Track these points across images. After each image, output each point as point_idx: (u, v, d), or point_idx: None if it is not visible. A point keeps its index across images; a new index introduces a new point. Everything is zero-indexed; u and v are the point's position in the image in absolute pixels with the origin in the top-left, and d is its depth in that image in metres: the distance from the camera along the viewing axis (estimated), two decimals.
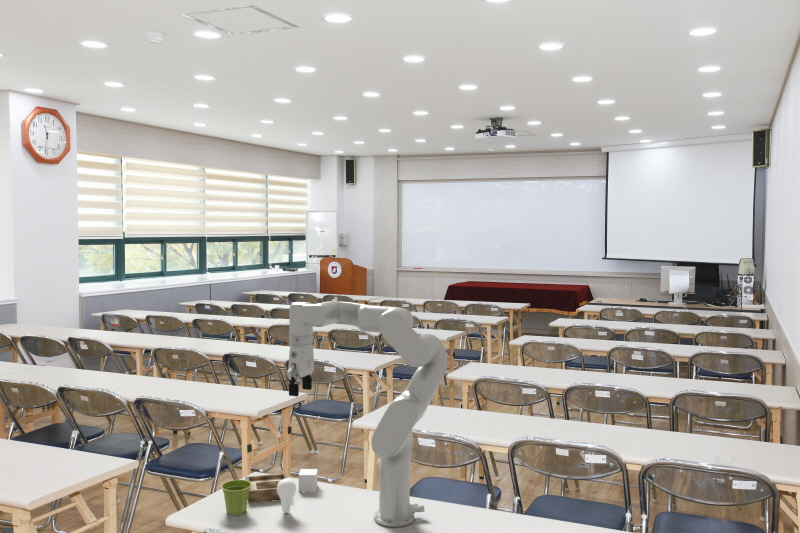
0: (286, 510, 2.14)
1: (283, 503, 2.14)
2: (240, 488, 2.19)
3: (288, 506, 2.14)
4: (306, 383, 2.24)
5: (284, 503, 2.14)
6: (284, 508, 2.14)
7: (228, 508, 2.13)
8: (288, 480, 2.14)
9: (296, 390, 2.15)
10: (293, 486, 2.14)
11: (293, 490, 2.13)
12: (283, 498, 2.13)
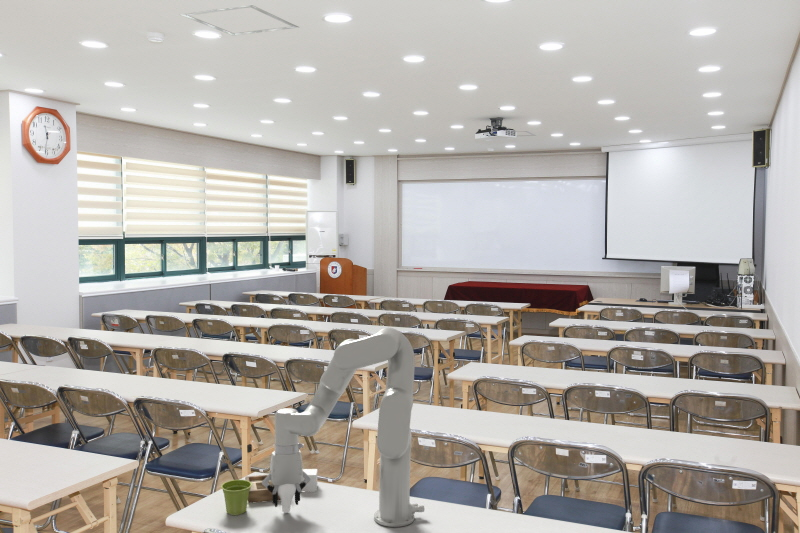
0: (286, 510, 2.14)
1: (283, 503, 2.14)
2: (240, 488, 2.19)
3: (288, 506, 2.14)
4: None
5: (284, 503, 2.14)
6: (284, 508, 2.14)
7: (228, 508, 2.13)
8: None
9: None
10: (293, 486, 2.14)
11: (293, 490, 2.13)
12: (283, 498, 2.13)
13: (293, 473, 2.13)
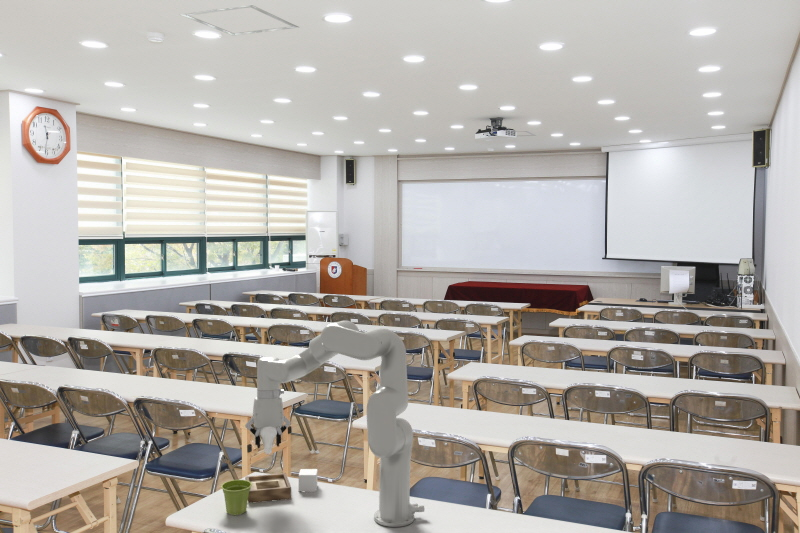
0: (268, 451, 2.29)
1: (265, 445, 2.29)
2: (240, 488, 2.19)
3: (270, 448, 2.29)
4: None
5: (266, 445, 2.29)
6: (265, 449, 2.29)
7: (228, 508, 2.13)
8: None
9: None
10: (274, 429, 2.29)
11: (274, 432, 2.29)
12: (265, 439, 2.28)
13: (274, 417, 2.28)
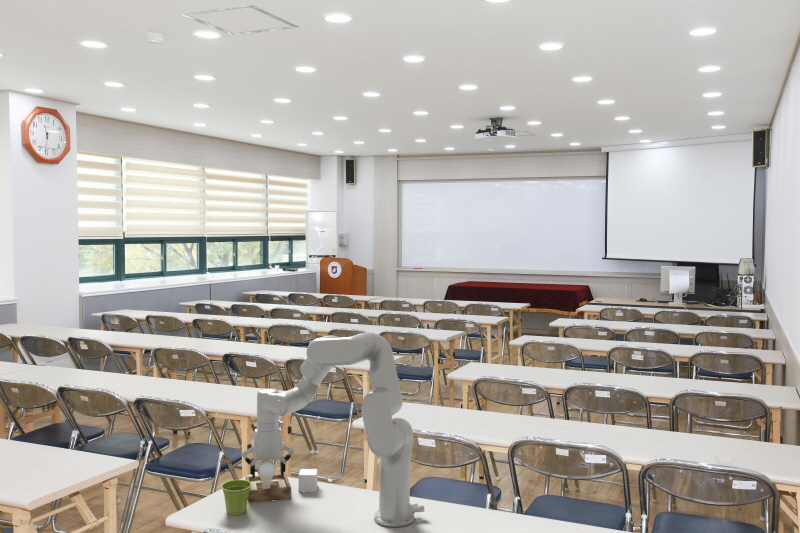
0: None
1: (263, 483, 2.29)
2: (240, 488, 2.19)
3: (268, 485, 2.30)
4: None
5: (264, 483, 2.29)
6: (264, 487, 2.30)
7: (228, 508, 2.13)
8: (268, 461, 2.30)
9: None
10: (272, 467, 2.29)
11: (272, 470, 2.29)
12: (263, 477, 2.29)
13: (274, 449, 2.29)
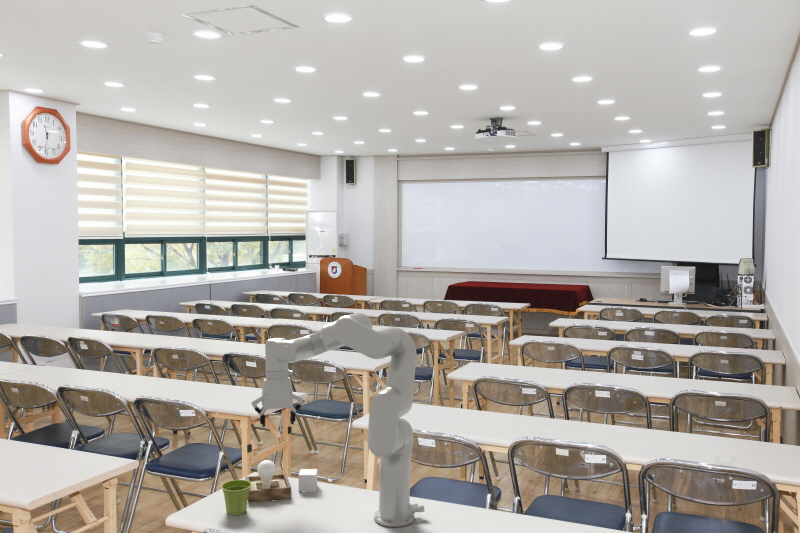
0: None
1: (263, 483, 2.29)
2: (240, 488, 2.19)
3: (268, 485, 2.30)
4: None
5: (264, 483, 2.29)
6: (264, 487, 2.30)
7: (228, 508, 2.13)
8: (268, 461, 2.30)
9: None
10: (272, 467, 2.29)
11: (272, 471, 2.29)
12: (263, 477, 2.28)
13: (284, 397, 2.28)
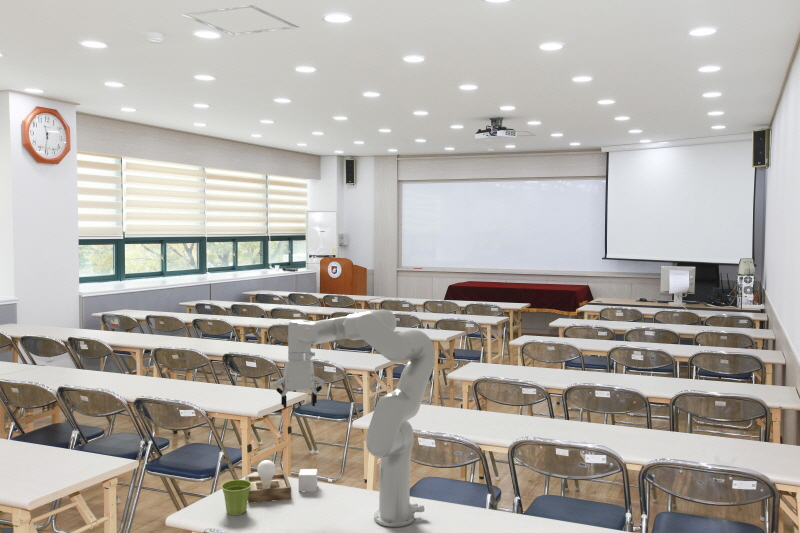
0: None
1: (264, 483, 2.29)
2: (240, 488, 2.19)
3: (268, 485, 2.30)
4: None
5: (264, 483, 2.29)
6: (264, 487, 2.30)
7: (228, 508, 2.13)
8: (268, 461, 2.30)
9: None
10: (272, 467, 2.29)
11: (272, 470, 2.29)
12: (263, 477, 2.28)
13: (305, 379, 2.28)
